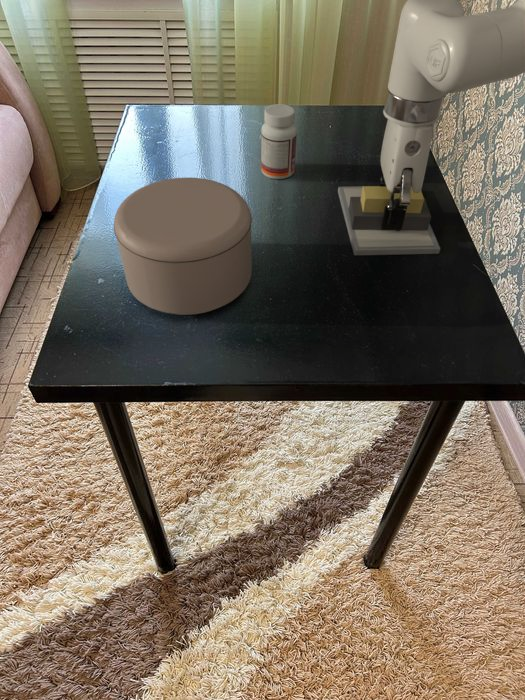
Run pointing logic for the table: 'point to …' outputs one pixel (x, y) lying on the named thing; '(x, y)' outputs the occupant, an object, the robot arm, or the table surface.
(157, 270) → the container
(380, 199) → the eraser
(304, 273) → the table surface
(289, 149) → the pill bottle
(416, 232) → the whiteboard
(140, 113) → the table surface
